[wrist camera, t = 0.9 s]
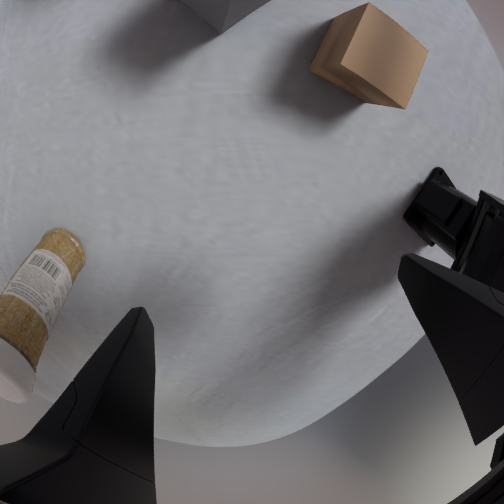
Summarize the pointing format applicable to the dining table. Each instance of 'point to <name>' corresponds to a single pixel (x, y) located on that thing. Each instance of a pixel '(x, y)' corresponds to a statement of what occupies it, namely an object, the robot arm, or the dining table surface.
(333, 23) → the walnut cube
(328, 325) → the dining table surface
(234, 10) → the gray block
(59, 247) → the sprinkles bottle
